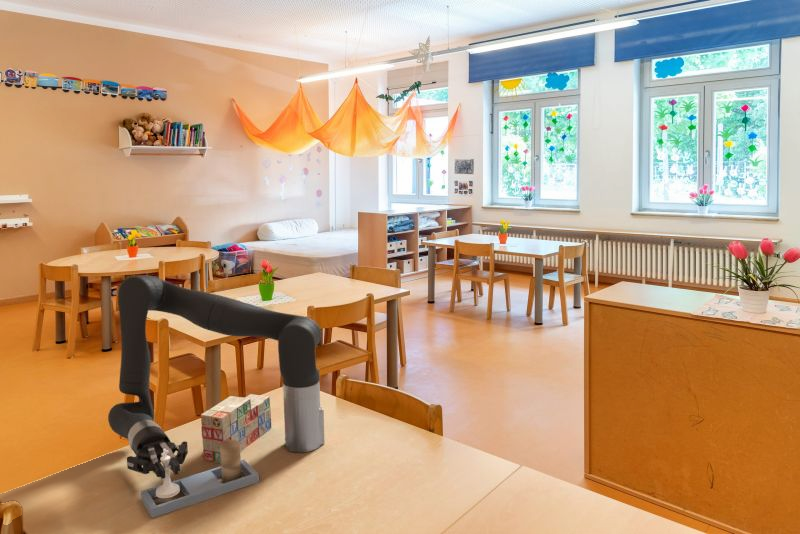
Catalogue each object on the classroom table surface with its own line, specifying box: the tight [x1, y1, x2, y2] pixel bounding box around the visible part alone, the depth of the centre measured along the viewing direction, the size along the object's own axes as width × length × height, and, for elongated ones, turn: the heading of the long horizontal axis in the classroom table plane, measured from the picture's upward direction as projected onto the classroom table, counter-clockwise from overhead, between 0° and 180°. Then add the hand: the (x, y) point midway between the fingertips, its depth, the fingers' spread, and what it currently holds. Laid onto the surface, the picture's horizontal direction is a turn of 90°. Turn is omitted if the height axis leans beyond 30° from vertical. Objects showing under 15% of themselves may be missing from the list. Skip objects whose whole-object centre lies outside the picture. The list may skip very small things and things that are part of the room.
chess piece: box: [156, 449, 181, 499], centre depth 129 cm, size 5×5×10 cm
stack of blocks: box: [200, 393, 272, 464], centre depth 156 cm, size 21×6×12 cm, turn 160°
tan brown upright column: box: [220, 440, 243, 484], centre depth 138 cm, size 4×4×9 cm
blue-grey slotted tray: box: [140, 459, 260, 519], centre depth 134 cm, size 24×8×2 cm, turn 126°
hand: (170, 472), depth 127 cm, fingers closed on chess piece
